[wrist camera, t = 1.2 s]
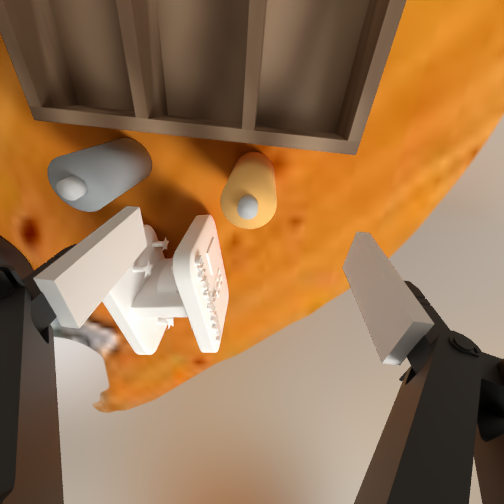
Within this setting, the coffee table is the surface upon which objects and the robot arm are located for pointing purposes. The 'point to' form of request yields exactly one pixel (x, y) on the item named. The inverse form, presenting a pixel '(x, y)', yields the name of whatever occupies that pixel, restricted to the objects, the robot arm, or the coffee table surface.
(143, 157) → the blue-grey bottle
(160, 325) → the cable organizer
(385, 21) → the brown compartment tray
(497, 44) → the coffee table surface
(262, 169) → the yellow knobbed cylinder
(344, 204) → the coffee table surface
